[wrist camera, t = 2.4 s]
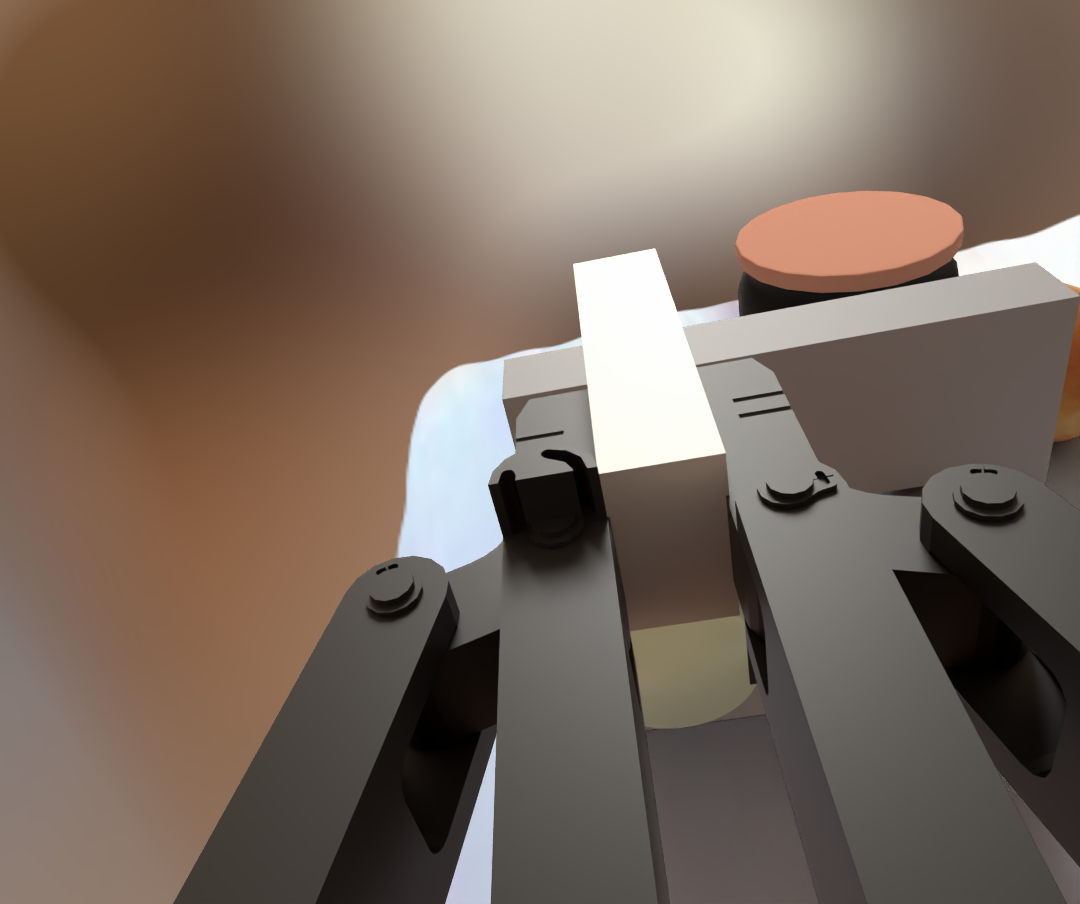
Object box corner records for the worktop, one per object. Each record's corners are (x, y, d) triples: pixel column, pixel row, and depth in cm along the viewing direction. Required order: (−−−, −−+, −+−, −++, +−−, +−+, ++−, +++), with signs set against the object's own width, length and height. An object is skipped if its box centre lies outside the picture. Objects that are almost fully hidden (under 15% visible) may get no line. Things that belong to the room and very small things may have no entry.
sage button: (592, 582, 39) (569, 481, 35) (721, 562, 38) (710, 457, 35) (606, 738, 32) (579, 630, 28) (764, 716, 31) (756, 604, 28)
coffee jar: (884, 441, 56) (896, 174, 45) (975, 541, 47) (1015, 238, 37) (729, 479, 55) (707, 221, 45) (791, 587, 47) (781, 296, 37)
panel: (587, 689, 44) (504, 360, 32) (980, 634, 42) (1035, 262, 30) (591, 737, 41) (502, 399, 30) (1008, 681, 39) (1080, 296, 28)
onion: (916, 449, 54) (927, 312, 49) (976, 376, 59) (991, 244, 54) (1085, 494, 48) (1119, 342, 42) (1135, 408, 53) (1171, 263, 48)
